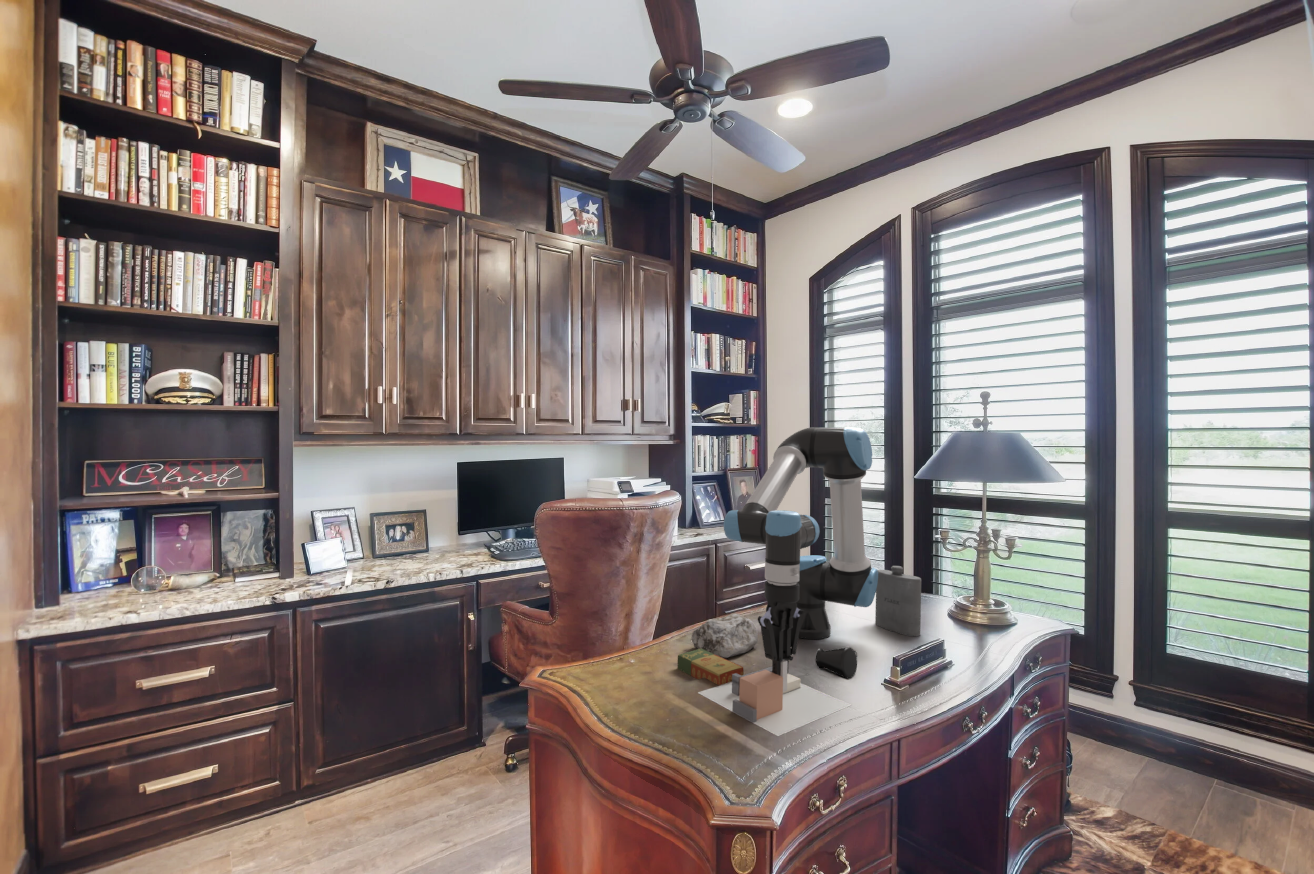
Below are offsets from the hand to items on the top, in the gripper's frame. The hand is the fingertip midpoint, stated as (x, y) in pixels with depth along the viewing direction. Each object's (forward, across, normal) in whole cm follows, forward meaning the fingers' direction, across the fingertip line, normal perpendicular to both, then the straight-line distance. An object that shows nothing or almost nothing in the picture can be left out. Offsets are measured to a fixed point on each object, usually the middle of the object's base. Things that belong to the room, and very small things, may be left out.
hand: (780, 688), depth 130 cm
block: (+3, -6, 0) cm, 7 cm away
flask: (+5, +74, +16) cm, 76 cm away
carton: (+5, 0, +23) cm, 23 cm away
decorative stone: (+5, +18, +34) cm, 38 cm away
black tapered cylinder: (+5, +33, +7) cm, 34 cm away
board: (+4, +1, +2) cm, 5 cm away
